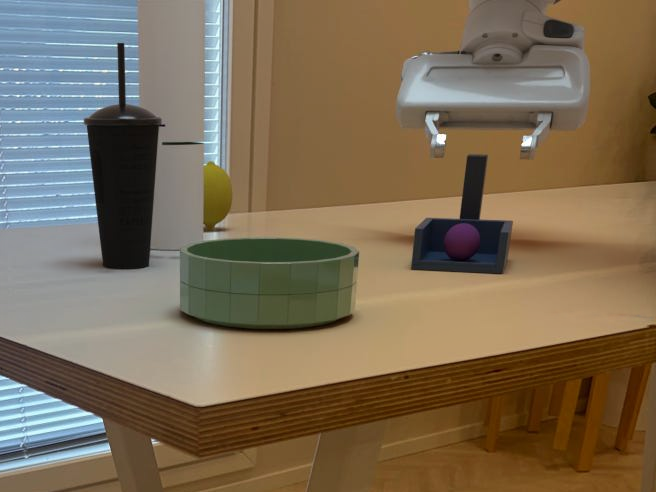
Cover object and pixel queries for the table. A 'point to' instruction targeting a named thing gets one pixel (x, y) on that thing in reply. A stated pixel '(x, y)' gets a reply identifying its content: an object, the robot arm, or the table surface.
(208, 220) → the lemon
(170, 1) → the cylindrical container
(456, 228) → the ball
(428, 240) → the scoop
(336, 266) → the bowl
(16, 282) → the table surface
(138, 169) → the drinking cup
